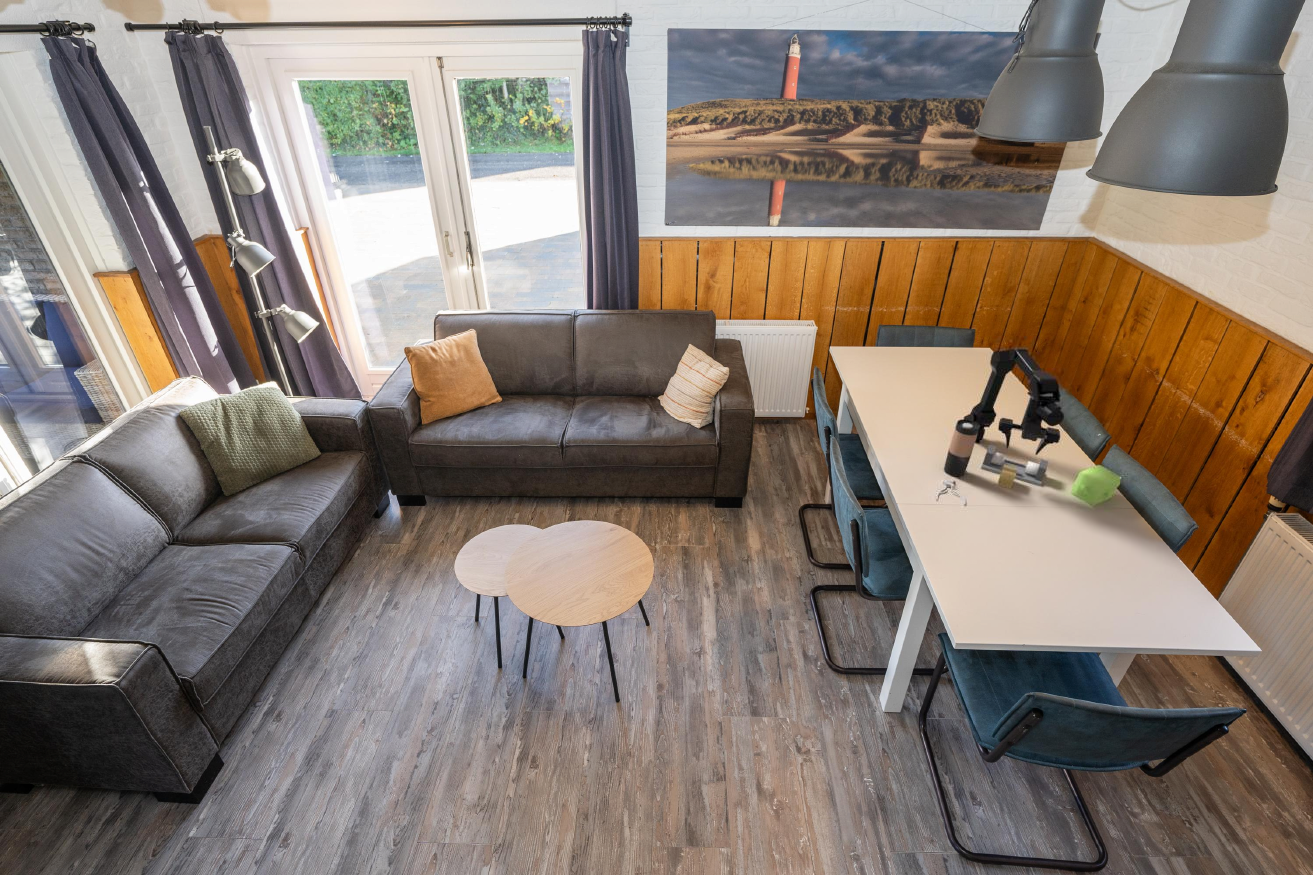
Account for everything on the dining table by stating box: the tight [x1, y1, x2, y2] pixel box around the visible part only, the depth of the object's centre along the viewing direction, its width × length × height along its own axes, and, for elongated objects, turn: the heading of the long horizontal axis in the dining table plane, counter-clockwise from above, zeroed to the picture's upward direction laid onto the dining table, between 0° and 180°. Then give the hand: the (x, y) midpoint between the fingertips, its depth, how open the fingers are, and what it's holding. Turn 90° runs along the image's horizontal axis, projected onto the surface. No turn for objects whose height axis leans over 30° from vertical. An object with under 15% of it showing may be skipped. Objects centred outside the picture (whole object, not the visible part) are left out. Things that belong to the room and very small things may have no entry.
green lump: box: [1070, 464, 1122, 506], centre depth 230 cm, size 18×10×10 cm, turn 117°
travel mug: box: [943, 418, 980, 478], centre depth 239 cm, size 8×8×20 cm
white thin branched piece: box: [934, 475, 966, 506], centre depth 233 cm, size 10×2×15 cm
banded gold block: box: [997, 464, 1018, 489], centre depth 237 cm, size 6×5×6 cm
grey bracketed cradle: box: [980, 444, 1049, 487], centre depth 244 cm, size 20×10×6 cm, turn 58°
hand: (1021, 451), depth 233 cm, fingers open, 9 cm apart
